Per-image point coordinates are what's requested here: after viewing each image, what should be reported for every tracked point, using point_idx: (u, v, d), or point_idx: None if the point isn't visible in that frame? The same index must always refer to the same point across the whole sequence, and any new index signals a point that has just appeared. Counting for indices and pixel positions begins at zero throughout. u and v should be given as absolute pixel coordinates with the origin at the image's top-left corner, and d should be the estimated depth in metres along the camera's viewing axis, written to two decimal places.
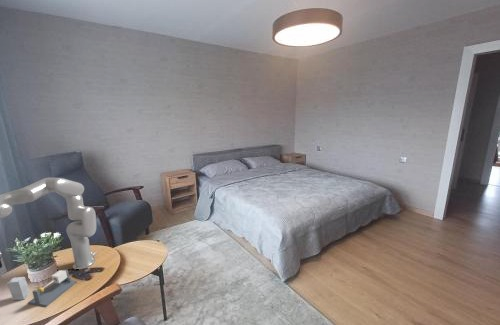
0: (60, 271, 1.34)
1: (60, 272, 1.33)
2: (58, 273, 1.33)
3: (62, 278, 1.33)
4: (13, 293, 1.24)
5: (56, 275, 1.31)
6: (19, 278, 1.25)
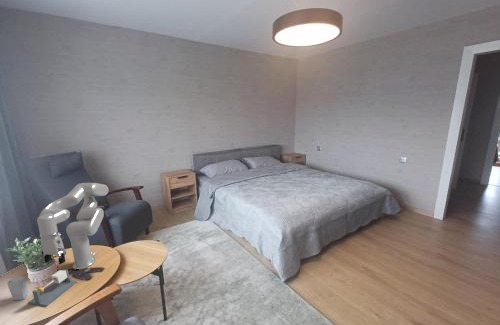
0: (60, 271, 1.34)
1: (60, 272, 1.33)
2: (58, 273, 1.33)
3: (62, 278, 1.33)
4: (13, 293, 1.24)
5: (56, 275, 1.31)
6: (19, 278, 1.25)
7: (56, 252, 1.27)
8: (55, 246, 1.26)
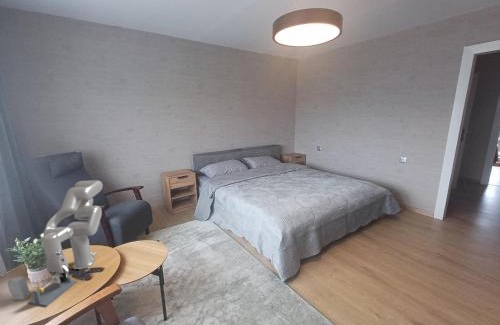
0: None
1: None
2: (58, 273, 1.33)
3: None
4: (13, 293, 1.24)
5: (56, 275, 1.31)
6: (19, 278, 1.25)
7: (60, 270, 1.29)
8: (59, 264, 1.29)
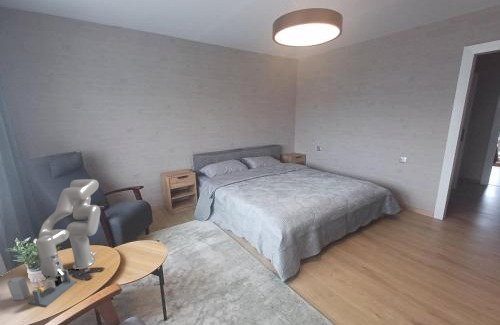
0: None
1: None
2: (53, 277, 1.30)
3: None
4: (13, 293, 1.24)
5: (51, 279, 1.28)
6: (19, 278, 1.25)
7: (55, 274, 1.27)
8: (54, 268, 1.26)
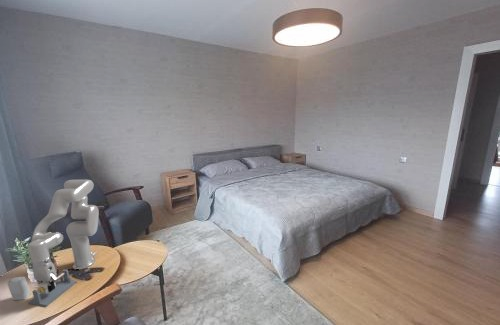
0: None
1: None
2: (46, 282, 1.26)
3: None
4: (13, 293, 1.24)
5: (44, 284, 1.24)
6: (19, 278, 1.25)
7: (48, 279, 1.23)
8: (47, 273, 1.22)
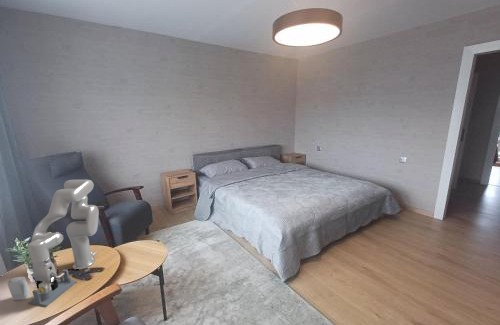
0: None
1: None
2: (46, 282, 1.26)
3: (50, 287, 1.26)
4: (13, 293, 1.24)
5: (43, 284, 1.24)
6: (19, 278, 1.25)
7: (48, 279, 1.23)
8: (47, 273, 1.22)
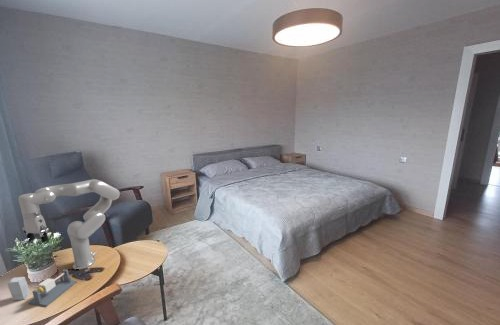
0: (48, 279, 1.28)
1: (48, 281, 1.27)
2: (46, 282, 1.26)
3: (50, 287, 1.26)
4: (13, 293, 1.24)
5: (43, 284, 1.24)
6: (19, 278, 1.25)
7: (38, 230, 1.29)
8: (37, 224, 1.28)
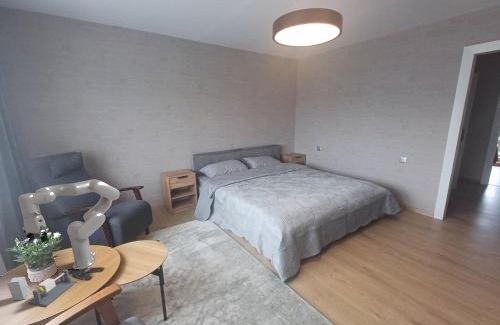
0: (48, 279, 1.28)
1: (48, 281, 1.27)
2: (46, 282, 1.26)
3: (50, 287, 1.26)
4: (13, 293, 1.24)
5: (43, 284, 1.24)
6: (19, 278, 1.25)
7: (38, 230, 1.29)
8: (37, 224, 1.28)
